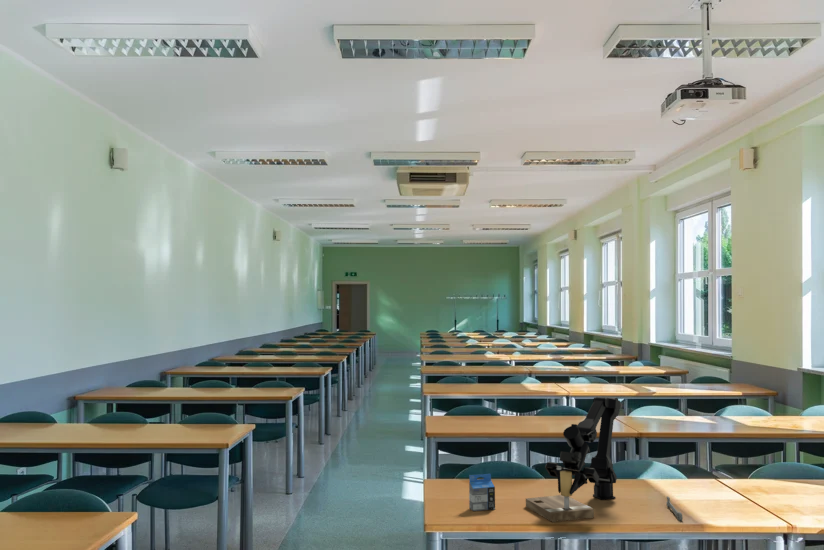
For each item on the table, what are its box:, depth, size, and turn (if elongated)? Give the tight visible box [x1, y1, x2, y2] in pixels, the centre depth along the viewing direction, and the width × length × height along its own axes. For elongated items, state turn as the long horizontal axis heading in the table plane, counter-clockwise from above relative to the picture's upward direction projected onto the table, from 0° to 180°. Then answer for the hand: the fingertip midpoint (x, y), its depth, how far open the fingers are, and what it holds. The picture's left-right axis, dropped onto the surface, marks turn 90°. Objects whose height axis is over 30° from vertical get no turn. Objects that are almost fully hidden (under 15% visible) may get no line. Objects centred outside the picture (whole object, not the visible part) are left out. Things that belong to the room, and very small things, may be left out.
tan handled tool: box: [560, 471, 573, 511], centre depth 239 cm, size 4×4×14 cm
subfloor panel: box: [525, 494, 595, 523], centre depth 246 cm, size 16×20×3 cm
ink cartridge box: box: [468, 473, 496, 512], centre depth 251 cm, size 9×4×12 cm, turn 105°
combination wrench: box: [666, 496, 684, 522], centre depth 244 cm, size 4×1×20 cm
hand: (564, 492), depth 238 cm, fingers closed on tan handled tool, 4 cm apart
